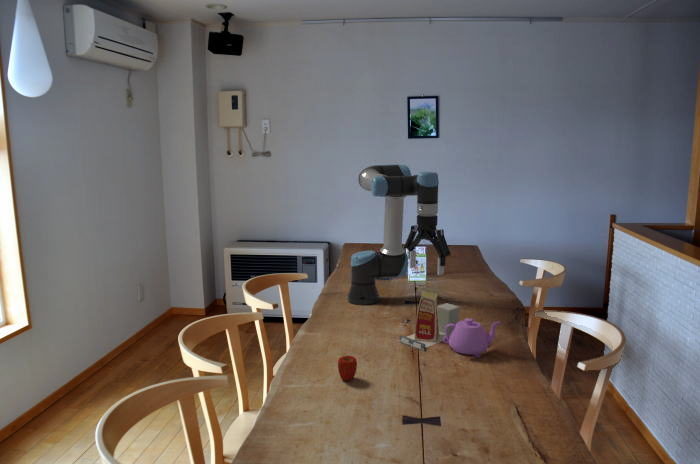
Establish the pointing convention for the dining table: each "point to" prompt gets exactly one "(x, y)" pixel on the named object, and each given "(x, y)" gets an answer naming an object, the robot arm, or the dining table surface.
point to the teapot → (469, 337)
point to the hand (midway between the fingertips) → (426, 271)
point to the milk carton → (427, 317)
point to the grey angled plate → (419, 344)
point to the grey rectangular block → (447, 316)
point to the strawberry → (347, 367)
